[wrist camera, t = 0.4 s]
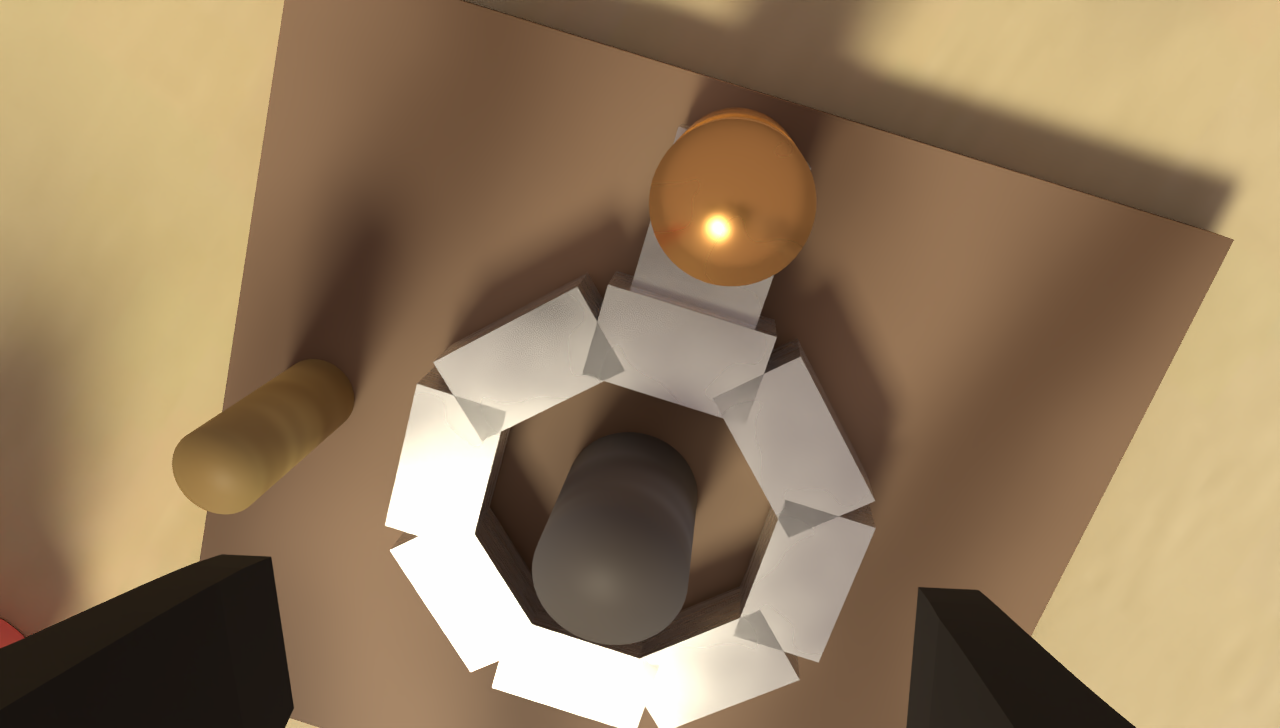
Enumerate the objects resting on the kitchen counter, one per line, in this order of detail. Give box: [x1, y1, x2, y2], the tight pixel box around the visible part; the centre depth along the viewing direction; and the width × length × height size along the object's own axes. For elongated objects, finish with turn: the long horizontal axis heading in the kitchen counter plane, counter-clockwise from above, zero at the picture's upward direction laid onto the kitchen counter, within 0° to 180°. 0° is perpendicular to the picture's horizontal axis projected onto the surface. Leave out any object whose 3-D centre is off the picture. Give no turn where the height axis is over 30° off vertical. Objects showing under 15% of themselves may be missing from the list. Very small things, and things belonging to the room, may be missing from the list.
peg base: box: [172, 0, 1234, 728], centre depth 18 cm, size 18×17×5 cm
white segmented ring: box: [385, 108, 876, 728], centre depth 17 cm, size 13×9×4 cm
